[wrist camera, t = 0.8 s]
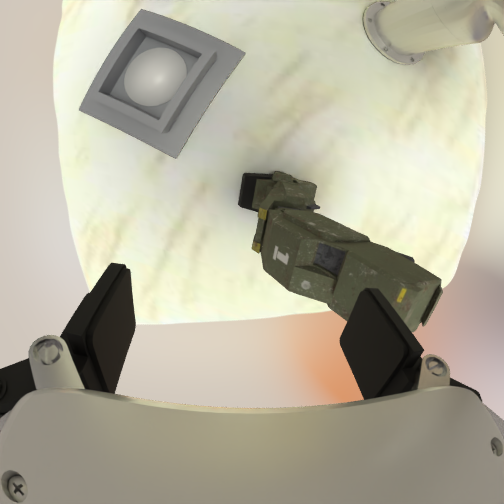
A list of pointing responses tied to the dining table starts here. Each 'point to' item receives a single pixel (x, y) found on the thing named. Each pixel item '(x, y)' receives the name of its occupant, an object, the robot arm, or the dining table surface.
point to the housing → (160, 80)
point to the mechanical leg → (330, 253)
